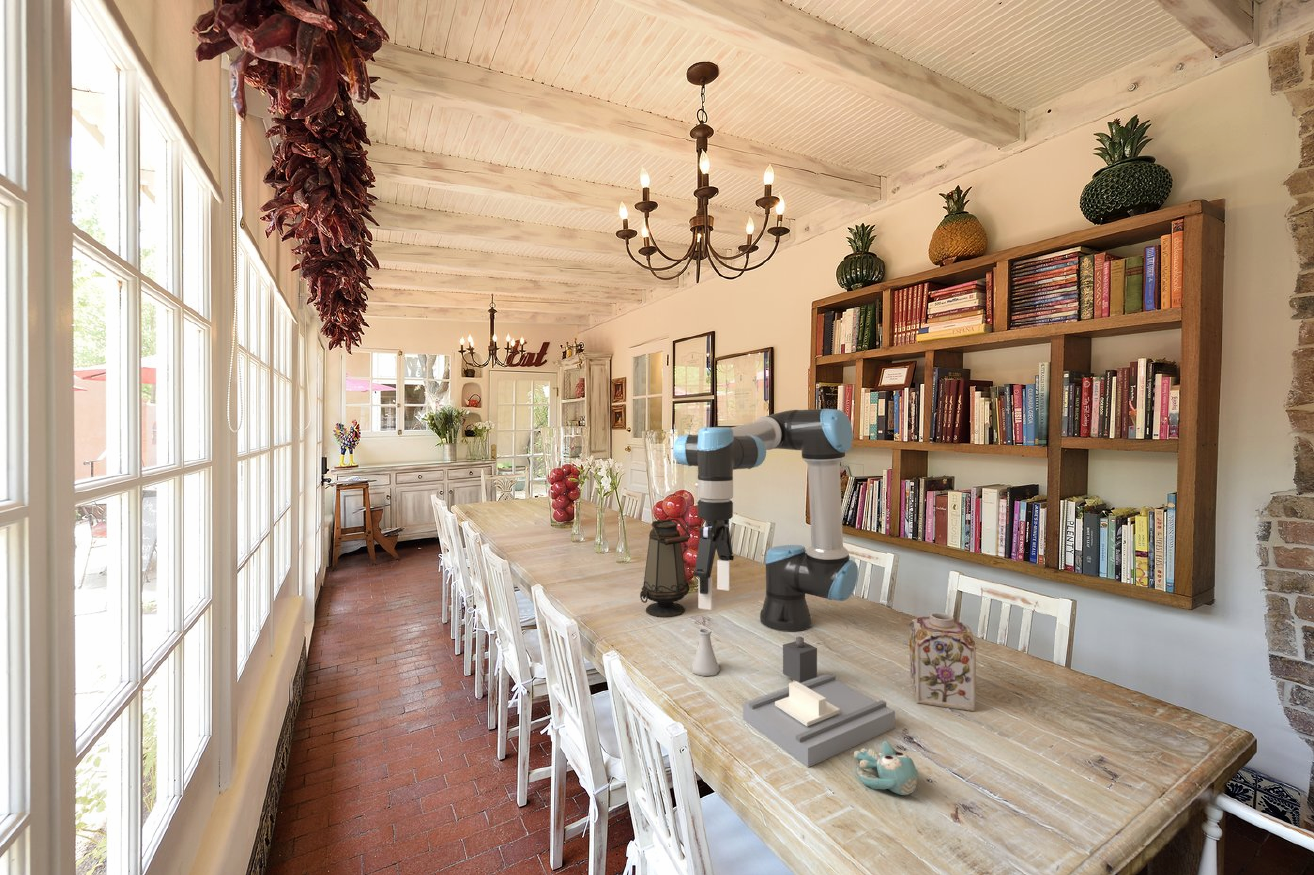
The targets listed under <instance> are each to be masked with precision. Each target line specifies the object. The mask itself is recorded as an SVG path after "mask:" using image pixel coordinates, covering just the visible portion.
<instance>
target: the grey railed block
mask: <svg viewBox="0 0 1314 875" xmlns="http://www.w3.org/2000/svg"><path fill="white" fill-rule="evenodd" d="M836 677H837V676H836V675H834V674H830V675H828V674H822V675H819V676H817V677H816V678H813V679H810V680H807V681H804V682H801V684H802V685H804V686H806V687H807V688H809V689H811V690H813V691H814V692H816V693H818V694H820V695H821V696H823V697H825V698H826V701H827V702H829V703H830V704H832V705H834V706H835V707H837V708H839V709H840V713H839V714H837V715H834V716H832V717H830V718H827V719H825V720H822V721H820V722H817V723H815V724H812V725H810V726H805V725H804V724H802V723H801V722H799V721H798V720H796V719H795V718H793V717H792V716H790V715H789V714H787V713H786V712H784V711H783V710H781V709H780V708H778V707H777V706H775V701H778V700H781V699H783V698H786V697H789V686H787V687H785V688H781V689H779V690H776V691H772V692H771V693H767V694H764V695H762V696H759V697H756V698H752V699H751V700H748V701H744V702H743V703H742V720H744V721H745V722H746V723H748V724H749V726H751V727H753V728H754V729H755V730H757V731H758V732H759V733H760V734H762V735H763V736H765V737H766V738H767V739H769V740H770V741H771V742H773V743H774V744H775V745H777V746H778V747H780V748H781V749H782V750H783V751H785V752H786V753H788V754H789V755H790V756H792V757H793V758H794V759H796V760H797V761H799V763H801V764H802V765H804V766H805V767H806V768H810V767H813V766H814V765H816V764H819V763H822V762H823V761H825V760H828V759H830V758H832V757H834V756H837V755H838V754H841V753H843V752H845V751H847V750H849V749H852V748H854V747H856V746H858V745H860V744H863V743H865V742H867V741H869V740H871V739H874V738H875V737H877V736H880V735H882V734H884V733H886V732H889V731H891V730H893V729H895V728H896V727H895V726H896V725H895V724H896V722H895V721H896V710H894V709H893V708H891V707H889V706H887V702H886V701H885V700H882V699H881V700H879V701H878V700H875V699H873V698H872V697H869V696H868V695H866V694H864V693H862V692H861V691H858V690H857V689H854V688H853V687H851V686H849V685H846V683H842V682H841V681H839V680H837V679H836Z"/></svg>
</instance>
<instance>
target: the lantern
mask: <svg viewBox="0 0 1314 875" xmlns="http://www.w3.org/2000/svg"><path fill="white" fill-rule="evenodd" d="M678 524H679V525H680V527H681V528H682V529H683V531H684V532H685V533H686V535H682V536H681V533H680V531H679V529H677V526H679V525H678ZM651 527H652V529H651V530H649V534H648V536H649V540H648V547H647V554H646V555H647V556H646V562H645V571H644V578H643V579H644V580H643V585H642V587H641V591H640V595H639V597H640V600H641V602H642V603H643V604H646V603H647V602H648V600H650V601H652V602H654V603H651V604H649V605H648V606H647V607H646V608H645V612H646V614H647V615H649V616H652V617H655V618H663V619H664V618H665V619H666V618H668V619H669V618H675V617H679V616H681V615H683V614H685V612H686V608H685V607H684V605H682V604H681V603H677V602H678V601H681V600H682V599H684V598H685V596H687V595H688V593H689V591H690V586H689V583H688V582H687V577H686V571H685V562H684V556H683V549H682V544H683V543H688V542H689V539H691V534H690V533H689V531H688V530H687V529H686V527H685V526H684V525H683V523H682V521H681V520H680V519H678V518H675V517H674V518H670V517H669V518H666V519H658V520H655V521H652V523H651Z"/></svg>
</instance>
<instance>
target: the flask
mask: <svg viewBox="0 0 1314 875" xmlns="http://www.w3.org/2000/svg"><path fill="white" fill-rule="evenodd" d="M698 633H699V642H698V646H697V649H696V652H695V655H694V658H693V660H692V664H691V665H690V666H691V667H690V670H691V671H692V674H695V675H698V676H703V677H706V676H707V677H708V676H709V677H711V676H717V674H719V672H720V671H721V670H720V666H719V664H718V661H717V657H716V656H715V652H714V649H713V645H712V640H711V634H712V629H711V628H706V627H705V628H703V627H702V628H700V629H698Z"/></svg>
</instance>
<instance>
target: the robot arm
mask: <svg viewBox="0 0 1314 875" xmlns="http://www.w3.org/2000/svg"><path fill="white" fill-rule="evenodd" d="M697 432H698V433H697V434H690V433H689V434H683V435H679V436H678V437H677V438H676V439H675V441H674V442H673V446H672V447H673V448H672V450H673V453H672V454H673V457H674V459H675V461H676V462H677V463H678V464H679V465H683V466H688V467H692V466H693V467H697V482H696V483H695V487H696V488H697V498H698V501H697V517H698V518H699V519H702V520H704V521H705V525H704V526H700V527H699V539H698V540H699V541H698V546H697V553H696V559H695V560H696V561H695V565H694V568H695V569H694V572H693V576H694V577H697V578H698V580H697V582H698V588H697V589H698V591H697V593H698V595H697V596H698V601H697V602H698V605H697V606H698V607H697V608H698V609H701V610H708V611H712V610H713V576H712V572H713V570H712V569H713V564H714V560H715V557H716V552H717V556H718V559H717V563H716V564H717V566H716V567H717V568H716V571H717V572H716V573H717V574H716V576H717V578H716V581H717V582H716V586H717V587H716V589H717V590H720V591H726V592H727V591H730V590H731V581H730V580H731V577H730V576H731V561H734V558H735V555H733V554H734V552H733V546H732V538H731V531H730V519H732V518H733V517H734V501H733V500H731V499H733V498H734V475H733V474H734V470H746V469H748V470H751V469H753V468H757V467H759V466H761V465H762V464H764V461H765V460H766V456H767V451H769V450H775V449H778V450H792V451H801V459H802V460H803V461H804V462H806V464H807V473H808V474H807V475H808V476H807V477H808V498H809V500H808V501H809V515H810V516H809V520H810V522H809V523H810V537H811V541H810V543H811V545H810V546H809V547H808V548H807V549H806V547H805V546H804V545H800V544H785V545H784V544H783V545H777V546H774V547H770V548H769V549H768V550H766V557H765V597H764V601H763V605H762V609H761V610H760V613H759V614H760V615H759V616H760V618H759V619H760V623H761V624H762V625H763V626H765V627H767V628H769V629H772V630H777V631H780V632H781V631H782V632H799V631H800V632H801V631H804V630H807V629H809V628H810V627H811V626H812V615H811V613H810V610H809V606H808V603H807V599H806V595H811V596H813V597H814V596H815V597H818V598H823V599H827V600H829V601H837V602H844V601H846V600H848V599H849V598H850V597H851V595H852V594H853V592H854V590H855V587H856V585H857V581H858V575H859V567H858V564H857V562H856V561H854V560H852V559H850V554H849V553H850V552H849V550H848V549H847V548H846V547H845V546H844V540H843V539H844V538H843V536H844V535H843V513H842V512H843V511H842V488H841V487H842V486H841V485H842V484H841V462H842V461H843V460H844V459H845V458H846V452H849V451H850V450H851V448H852V446H853V441H854V431H853V426H852V423H851V420H850V418H849V417H848V416H847V414H846V413H845V411H842V410H840V409H835V408H834V409H833V408H819V409H818V408H817V409H816V408H815V409H789V410H785V411H780V412H777V413H772V414H769V415H766V416H761V417H760V418H757V419H756V420H755V421H754V422H750V423H747V424H740V425H737V426H732V427H728V426H727V427H722V426H720V427H718V426H717V427H712V426H711V427H710V426H709V427H700V429H699V430H698V431H697Z"/></svg>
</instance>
